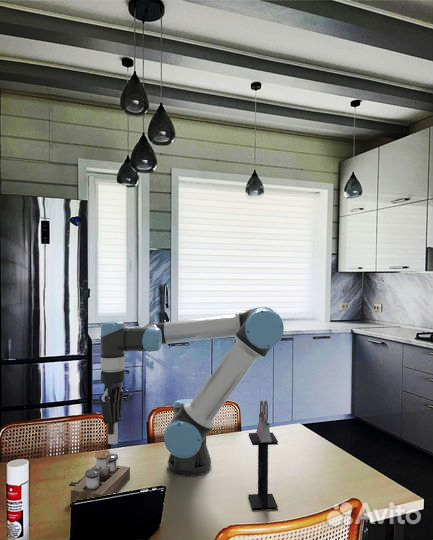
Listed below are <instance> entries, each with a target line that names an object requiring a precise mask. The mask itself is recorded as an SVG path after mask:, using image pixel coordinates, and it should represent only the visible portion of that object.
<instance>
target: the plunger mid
mask: <svg viewBox="0 0 433 540" xmlns="http://www.w3.org/2000/svg"><path fill="white" fill-rule="evenodd" d="M110 454H111V452H110V451H109V450H100V451H96V452H95V454H94V457H95V459H96V461H95V462H96V464H95V465H96V468H98V469H100V470H101V474H100V475H99V481H100V482H103V481H106V480H108V457H109V456H110Z"/></svg>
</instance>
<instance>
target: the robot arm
mask: <svg viewBox="0 0 433 540" xmlns="http://www.w3.org/2000/svg"><path fill="white" fill-rule="evenodd" d="M284 329H285V328H284V321H283V319H282V318H281V316H280V314H278V313H277V312H276V311H275V310H273V309H272V308H269V307H267V306H258V307H255V308H250V309H246V310H237V312H236V313H234V314H229V315H221V316H210V317H209V316H208V317H201V318H193V319H184V320H174V321H165V322H150V323H148V324H146V325H144V326H142V327H126V326H125V322H124V321H117V320H116V321H104V322H103V323H102V324H101V325H100V336H99V338H100V369H101V371H100V383H102V384H103V385H104V388H103V395H99V401H100V404H101V405H100V406H101V413H102V419H103V421H102V422H103V424H106V425H107V444H108V445H117V444H118V443H119V442H118V441H119V440H118V439H119V437H118V436H119V433H118V430H119V429H118V428H119V427H118V425H119V424H118V423H120V422H121V421H122V419H121V418H122V414H123V413H122V412H123V403H124V395H125V390H126V387H125V386H122V383H123V382H124V381H125V377H126V376H125V375H126V374H125V370H124V369H125V368H126V367H125V365H126V363H125V356H126V355H125V352H148V353H152V352H158V351H160V350H161V348H162V345H166V344H176V343H186V342H193V341H205V340H213V339H214V340H215V339H222V338H223V339H224V338H234V339H235V343H234V344H233V345H232V347H231V348H230V349H229V351H228V352H227V353H226V354H225V356H224V357H223V359H222V360H221V362H220V363H219V364H218V365H217V367H215V369H214V371H213V373H212V374H211V375H210V376H209V378H208V379H207V380H206V382H205V383H204V384H203V385H202V387H201V388H200V390H199V391H198V393H197V394H196V395H195V396H194V398H185V399H178V400H175V401H174V403H173V407H172V409H173V416H172V418H171V420H170V422H169V424H168V426H167V427H166V428H165V431H164V437H163V440H164V445H165V448H166V449H167V451H168V452H169V456H168V460H167V470H168V471H169V472H170V473H171V474H173V475H176V476H180V477H196V476H201V475H204V474H206V473H208V472H209V471H210V470H211V468H212V458H211V455H210V451H209V449H208V446H207V436H208V434H209V433H210V432H211V431H212V429H213V428H214V419H215V416H216V415H217V414H218V413H219V411H220V410H221V409H222V407H223V406H224V405H225V404H226V402H227V401H228V399H229V398H230V396H232V394H233V393H234V391H235V390H236V388H238V386H239V384H240V383H241V382H242V380H244V378H245V377H246V375H247V374H248V372H249V371H250V369H251V368H252V367H253V366H254V364H255V363H256V361H257V360H258V359H264V358H266V356H267V355H268V353H269V352H270V351H271V349H272V348H273V347H275V346H277V345H278V344H279V343H280V341H281V340H282V338H283V336H284V332H285V330H284Z"/></svg>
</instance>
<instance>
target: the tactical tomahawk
mask: <svg viewBox="0 0 433 540" xmlns="http://www.w3.org/2000/svg"><path fill="white" fill-rule="evenodd" d="M92 468H96V464H95V465H93V467H92ZM92 468H90V469H92ZM85 478H86V476H85V474H83V476H81V477H80V478H79V479H78V480H77V481H71V482H70V483H69V486H70V487H71V486H73V487H75V486H76V485H77V484H79V483H80V482H81V481H82V480H83V479H85Z"/></svg>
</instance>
